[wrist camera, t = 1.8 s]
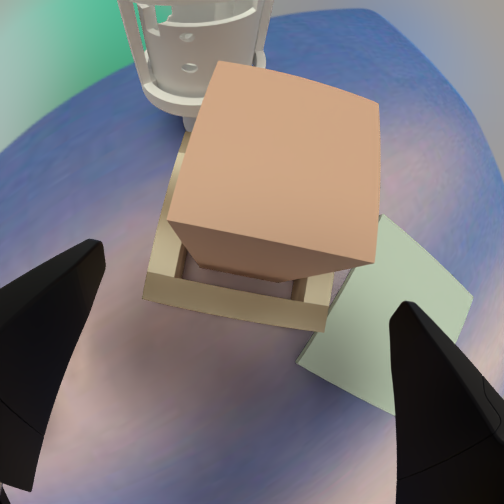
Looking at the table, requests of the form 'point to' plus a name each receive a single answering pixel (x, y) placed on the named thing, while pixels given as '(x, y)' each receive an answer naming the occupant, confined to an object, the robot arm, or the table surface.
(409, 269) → the mat
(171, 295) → the pocket frame
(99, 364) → the table surface
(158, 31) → the white flanged cylinder housing
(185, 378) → the table surface
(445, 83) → the table surface
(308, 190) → the block
